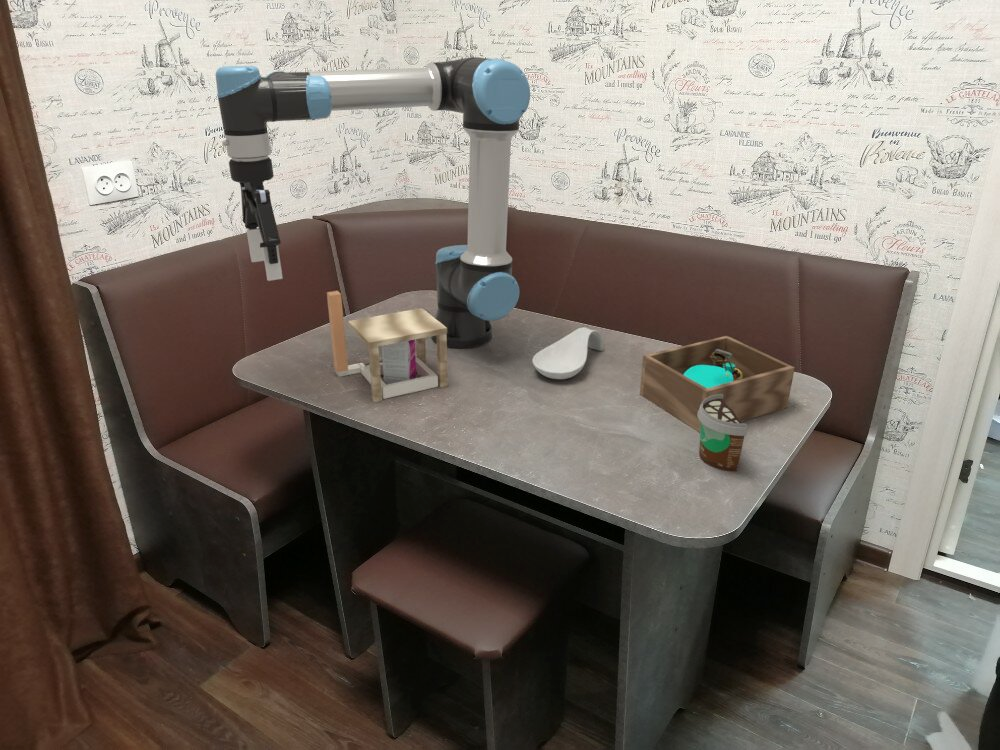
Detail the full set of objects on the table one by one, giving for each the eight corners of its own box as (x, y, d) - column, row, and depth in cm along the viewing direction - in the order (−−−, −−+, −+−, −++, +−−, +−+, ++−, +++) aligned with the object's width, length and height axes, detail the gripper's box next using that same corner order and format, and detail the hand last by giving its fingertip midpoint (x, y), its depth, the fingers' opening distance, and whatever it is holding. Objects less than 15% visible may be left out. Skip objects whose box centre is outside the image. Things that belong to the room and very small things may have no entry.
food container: (683, 441, 140) (689, 393, 136) (715, 439, 140) (722, 392, 136) (705, 477, 129) (712, 426, 125) (739, 475, 129) (748, 425, 125)
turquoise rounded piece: (769, 401, 155) (781, 334, 149) (726, 432, 144) (736, 360, 137) (709, 381, 164) (718, 316, 158) (663, 408, 152) (671, 340, 146)
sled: (408, 358, 174) (403, 280, 166) (438, 386, 161) (434, 303, 153) (334, 373, 167) (326, 292, 159) (359, 404, 153) (351, 317, 145)
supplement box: (409, 388, 160) (406, 339, 155) (383, 386, 161) (379, 337, 156) (417, 377, 165) (415, 329, 160) (392, 375, 166) (388, 327, 161)
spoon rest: (568, 391, 160) (569, 360, 157) (522, 377, 166) (522, 348, 162) (616, 354, 177) (619, 326, 174) (573, 343, 183) (574, 316, 180)
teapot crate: (721, 372, 167) (726, 335, 164) (787, 407, 152) (794, 367, 148) (639, 394, 158) (643, 355, 154) (701, 433, 142) (706, 391, 139)
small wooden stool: (424, 363, 172) (421, 308, 166) (448, 385, 161) (447, 327, 155) (353, 377, 165) (348, 320, 159) (374, 402, 154) (369, 342, 148)
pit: (381, 362, 173) (381, 360, 172) (387, 368, 169) (387, 366, 169) (365, 365, 171) (365, 363, 171) (370, 371, 168) (370, 370, 167)
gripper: (215, 150, 144) (233, 256, 153) (242, 170, 124) (261, 291, 133) (255, 147, 147) (270, 251, 156) (287, 166, 127) (303, 284, 137)
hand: (266, 270), depth 145 cm, fingers open, 13 cm apart
